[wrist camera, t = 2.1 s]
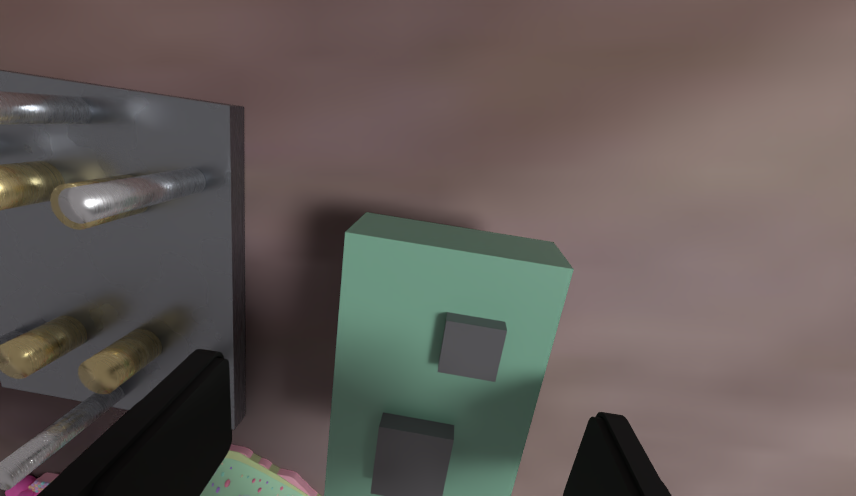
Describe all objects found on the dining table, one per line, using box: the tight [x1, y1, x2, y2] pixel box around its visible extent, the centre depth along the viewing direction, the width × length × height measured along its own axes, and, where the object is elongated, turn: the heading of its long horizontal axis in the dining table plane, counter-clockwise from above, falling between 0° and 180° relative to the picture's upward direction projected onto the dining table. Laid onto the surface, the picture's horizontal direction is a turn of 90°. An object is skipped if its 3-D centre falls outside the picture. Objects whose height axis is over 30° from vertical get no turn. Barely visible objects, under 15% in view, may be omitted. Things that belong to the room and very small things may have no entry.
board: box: [324, 212, 574, 496], centre depth 13 cm, size 10×6×3 cm, turn 172°
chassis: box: [0, 70, 245, 490], centre depth 15 cm, size 15×12×6 cm
